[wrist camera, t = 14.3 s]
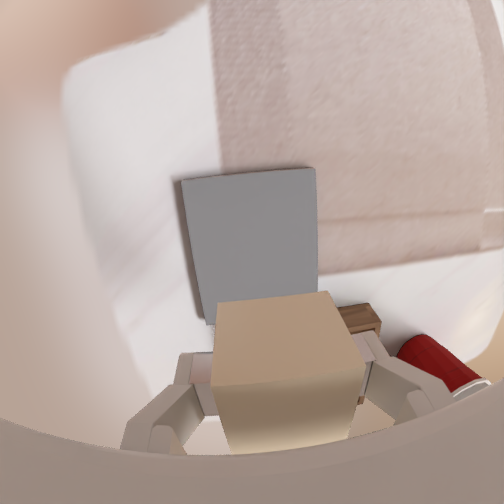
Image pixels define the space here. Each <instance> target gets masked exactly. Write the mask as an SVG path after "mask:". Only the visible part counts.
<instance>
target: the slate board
mask: <svg viewBox="0 0 504 504" xmlns="http://www.w3.org/2000/svg"><path fill="white" fill-rule="evenodd" d="M181 186H182V193H183V199H184V206H185V213H186V219H187V225H188V231H189V237H190V243H191V249H192V255H193V260H194V266H195V271H196V277H197V282H198V287H199V292H200V297H201V302H202V307H203V312H204V317H205V322H206V325H215V324H216V315H217V305H218V303H221V302H232V301H242V300H252V299H262V298H271V297H280V296H289V295H297V294H306V293H314V292H317V288H318V230H317V193H316V170H315V168H313V167H311V168H294V169H280V170H267V171H256V172H245V173H235V174H226V175H217V176H209V177H201V178H193V179H186V180H182V181H181Z"/></svg>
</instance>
